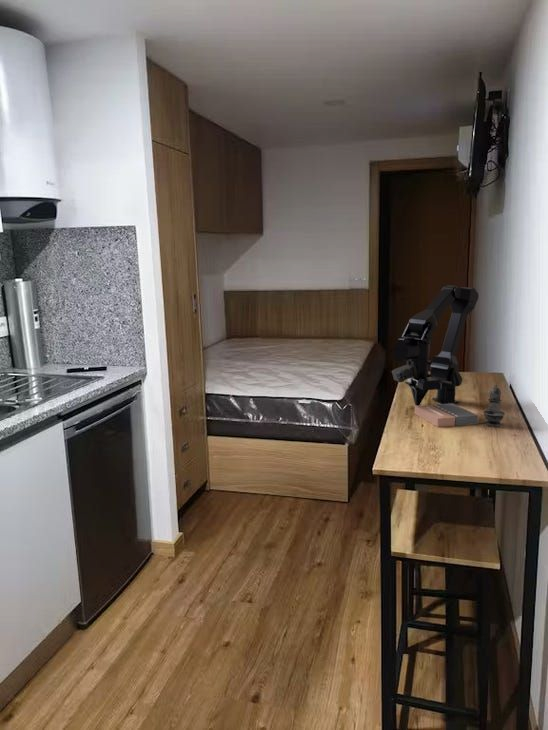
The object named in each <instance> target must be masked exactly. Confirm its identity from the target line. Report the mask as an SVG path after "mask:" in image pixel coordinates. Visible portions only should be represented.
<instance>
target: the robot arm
mask: <svg viewBox="0 0 548 730" xmlns="http://www.w3.org/2000/svg"><path fill="white" fill-rule="evenodd" d="M479 295H480V294H479V292H478V291H477V289H476V288H474V287H460V286H457V285H444V286H443V287H442V288H441V290H440V292H439V293H438V294H437V296H436V297H435V298H433V300H432V301H431V303H429V305H428V306H427V307H426V308H425V309H424V310H423V311H420V312H417V313H416V314H415V315H413V316H412V317H410V318H409V320H408V323H407V325H406V327H405V328H404V331H403V333H402V335H401V338H398V340H397V343H395V344H394V345H393V348H392V355H393V358H394V359H395V360H396V361H398V362H405V361H406V364H404V365H402V366H400V367H396V368H395V369H392V370H391V373H392V377H393V380H394V381H396V382H397V383H403V382H404V383H405V385H406V386H408V387H409V388H410V390H411V391H410V392H411V394H412V398H413V402H414V406H421V403H422V402H423V400H424V398H425V396H426V395H427V393H429V391H433V390H436V397H433V398H432V400H433V402H436V403H438V404H451V403H453V404H459V400H456V387H460V386H461V385H462V382H463V377H462V376H461V374H460V372H459V363H458V359H457V353H458V350H459V346H460V342H461V340H462V339H461V338H462V335H463V333H464V328H465V325H466V321H467V317H468V315H469V314H470V313H471V312H472V311H473V310H474V309H475V307H476V305H477V302H478V300H479ZM449 307H450V309H451V315H450V319H449V322H448V325H447V330H446V333H445V336H444V339H443V340H444V341H443V343H442V344H443V345H442V347H441V350H440V353H439V354H438V355H434V356H433V357H432V360H430V347H431V346H430V343H434V339H433V338H432V337H431V336H432V335H433V333H434V332H435V331H436V329H437V327H438V320H439V318H441V316H442V315H443V314H444V313H445V312H446V310H447V309H448V308H449ZM429 367H430V368H429Z"/></svg>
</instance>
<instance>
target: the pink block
mask: <svg viewBox="0 0 548 730" xmlns="http://www.w3.org/2000/svg"><path fill="white" fill-rule="evenodd" d="M432 405H433V404H427V405H425V404H423V405H419V406H416V405H414V415H416V416H417V417H420V418H421V419H423V420H425V421H426V422H428V423H430V424H432V425H433V426H435V427H437V428H438V427H439V428H441V427H453V426H456V425H455V417H454V416H452V415H450V414H448V413H446V412H444V411H442V410H440V409H438V408H436V407H434V406H432Z"/></svg>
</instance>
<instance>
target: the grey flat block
mask: <svg viewBox="0 0 548 730" xmlns="http://www.w3.org/2000/svg"><path fill="white" fill-rule="evenodd" d="M431 405H432V406H434V407H436V408H438V409H440V410H442V411H444V412H446V413H448V414H450V415H452V416H454V417H455V426H464V425H465V426H467V425H477V424H478V421H479V420H478V419H479V415H478V414H476V413H473V412H472V411H469V410H467V409H465V408H463V407H461V406H460V405H457V404H456V403H449V404H441V403H436V404H431Z"/></svg>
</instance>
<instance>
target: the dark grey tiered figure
mask: <svg viewBox="0 0 548 730" xmlns="http://www.w3.org/2000/svg"><path fill="white" fill-rule="evenodd" d="M501 393H502V390H501V389H500V388H499V387H498V385H497V384H495V385H494V387H492V388H491V389H490V393H489V394H490V395H489V398H488V401H489V402H488V408H487V409H485V410H483V416H484V419H485V420H486V421H484V422H483V425H484V426H486V427H490V426H493V427H492V428H501V426H502V427H503V426H504V424H503V423H501V421H502V420H503V419H504V416H505V415H506V413H505V412H504V411H502V410H501V402H502V399H501V395H502V394H501Z"/></svg>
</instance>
